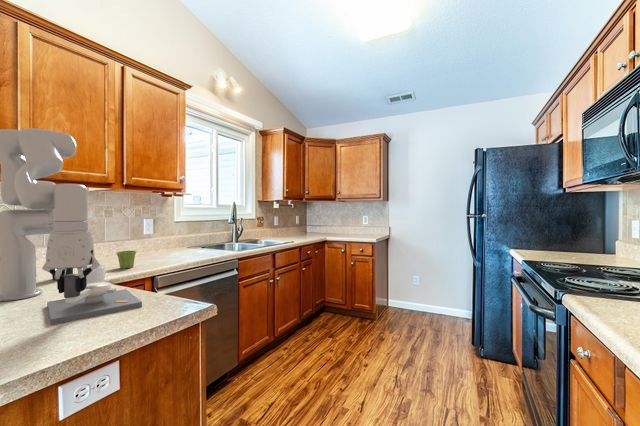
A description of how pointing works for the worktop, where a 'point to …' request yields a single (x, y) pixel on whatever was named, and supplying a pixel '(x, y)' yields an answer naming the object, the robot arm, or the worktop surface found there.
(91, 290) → the lever handle
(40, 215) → the robot arm
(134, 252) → the plant pot
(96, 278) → the white cup
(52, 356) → the worktop surface
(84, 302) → the post base
